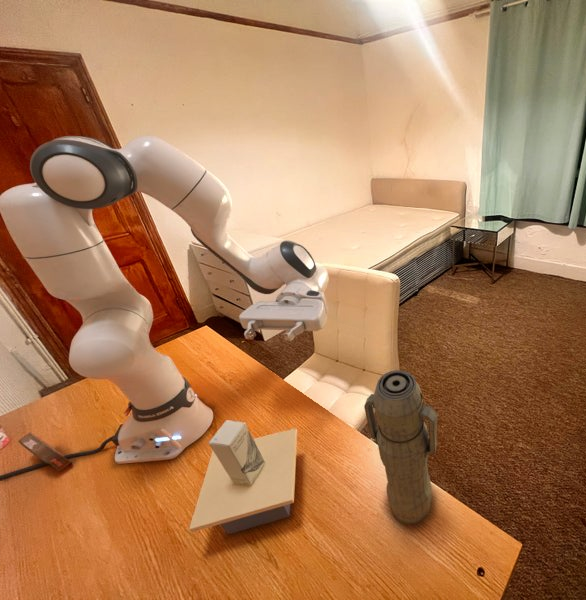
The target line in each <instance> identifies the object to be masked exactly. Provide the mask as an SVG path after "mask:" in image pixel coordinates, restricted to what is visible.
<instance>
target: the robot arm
mask: <svg viewBox="0 0 586 600" xmlns="http://www.w3.org/2000/svg"><path fill="white" fill-rule="evenodd" d="M29 161H30V162H29V171H30V174H31V177H32V179H33V181H34V182H32V183H25V184H19V185H16V186H13V187H11V188H9V189H7V190H5V191H4V192H2V193H1V194H0V215H1V218H2V221H3V222H4V224H5V227H6V229H7V231H8V234H9V235H10V237H11V239H12V240H13V243H14V244H15V245H16V247H17V249H18V250H19V252H20V254H21V255H22V257H23V258H24V260H25V261H26V263H27V264H28V265H29V266H30V268H31V270H32V271H33V272H34V274H35V275H36V277H37V278H38V280H39V281H40V283H41V284H42V285H43V287H44V288H45V290H46V291H47V292H48V294H50V295H51V297H54V298H56V299H60V300H64V301H65V302H67V303H68V304H69V305H71V306H72V307H73V308H74V309H75V310H76V311H78V312H79V314H80V315H81V318H82V319H81V320H82V325H81V326H80V328H79V329H78V330H77V332H76V333H75V334H74V336H73V338H72V340H71V341H70V342H71V343H70V347H69V354H68V355H69V356H68V363H69V365H70V368H71V369H72V370H73V371H74V372H75V373H77V374H78V375H79V376H81V377H84V378H88V379H92V380H107V381H109V382H111V384H114V385H115V386H116V387H117V388H118V389H119V391H120V392H122V394H124V396H125V397H126V398H127V400H128V404H127V407H126V409H125V411H124V414H125V416H126V419H125V420H124V422H123V423H120V424H119V426H118V428H117V430H116V431H115V433H114V435H112V436H110V437H109V438H107V439H106V440H104V441H102V443H101V444H100V446H99V447H98V448H94V449H92V450H88V451H82V452H74V453H69V454H66V455H63V456H64V457H65V458H66V459H70V458H75V457H76V458H77V457H84V456H90V455H93V454H96V453H99V452H101V451H102V450H104V449H105V447H106V445H108V443H111V442H112V443H113V444H114V445H115V446H116V450H115V452H114V453H115V454H114V461H115V463H116V464H117V465H120V464H134V463H144V462H156V461H157V462H158V461H168V460H174V459H175V458H176V457H178V456H179V455H180V454H181V453H182V452H183V451H184V450H185V449H186V448H187V447H189V446H190V445H192V444H193V443H195V442H196V441H197V440H199V439H200V438H201V437H202V436H203V435H204V434H205V433H206V432H207V431H208V430H209V428H210V427H211V425H212V422H213V420H214V411H213V410H212V408H210V407H209V406H208V405H206V403H204V402H203V401H201V400H200V398H198V395H197V393H195V391H194V389H193V387H192V385H191V384H190V382H189V381H188V380H187V379H186V377H185V376H183V375H182V373H181V372H180V370H179V369H178V367H177V366H176V364H175V363H174V361H173V359H172V358H171V357H170V355H167V354H164V353H160V352H159V351H158V350H156V348H155V347H154V346H153V345H152V343H151V340H150V331H151V328H152V325H153V322H154V312H153V307H152V304H151V302H150V301H149V299H148V298H146V296H144V295H142V294H140V292H138V291H137V290H136V288H135V287H134V286H133V285H132V284H131V282H130V281H129V280H128V279H127V278H126V276H125V275H124V274H123V272H122V270H121V269H120V267H119V265H118V264H117V261H116V260H115V258H114V256H113V254H112V252H111V250H110V248H109V247H108V245H107V243H106V241H105V239H104V237H103V236H102V234H101V232H100V230H99V229H98V227H97V225H96V222H95V221H94V217H93V210H100V209H103V208H107V207H109V206H112V205H115V204H116V203H118V202H119V201H121V200H123V199H125V198H127V197H129V196H131V195H134V194H135V193H136V192H137V193H142V194H144V195H147V196H149V197H151V198H153V199H154V200H156V201H158V202H159V203H160V204H162V205H163V206H164V207H166V208H167V209H169V210H171V211H172V212H173V213H175V214H176V215H177V216H178V217H181V219H182V220H183V221H184V222H185V223H186V224H187V225H188V226H189V228H190V232H191V234H192V235H193V237H194V238H195V239H196V240H197V241H198V242H199V243H200V244H201V246H203V247H204V248H205V249H206V250H207V251H209V252H210V253H211V254H212V255H214V256H215V257H216V258H217V259H219V260H220V261H221V262H222V263H224V264H225V266H227V267H228V268H230V269H231V270H233V271H234V273H236V274H238V276H240V278H242V279H243V281H245V283H246V284H247V285H248V286H249V287H250V288H251V289H252V290H254V291H255V292H257V293H259V294H262V295H271V294H274V293H275V292H277V291H279V289H280V288H282V287H283V286H285V287H284V288H283V289H282V290H281V291H280V293H278V294H277V295H276V298H275V301H268V300H267V301H266V300H265V301H264V300H263V301H257V302H254V303H252V304H251V305H250V306H248V307H247V308H246V309H244V311H241V313H240V314H239V315H238V319H239V322H240V325H241V327H242V329H244V330H245V331H244V333H243V335H244V338H245V339H246V340H254V338H255V337H256V336H257V333H256V331H258V330H262V331H263V330H266V331H285V332H284V333H283V337H284V340H285V341H289V342H292V341H294V339H295V338H296V337H297V336H299V335H302V334H303V333H304V332H318V331H321V330H322V329H323V328H324V326H325V325H326V322H327V320H328V316H329V314H330V313H329V305H328V301H327V298H326V295H325V292H326V290H327V287H328V285H329V282H330V281H329V280H330V278H329V277H330V276H329V272H328V270H327V268H326V267H325V266H324V265H322V264H321V263H318V262H316V261H315V259H314V258H313V256H312V255H311V253H310V252H309V251H308V249H307V248H306V247H304V246H303V245H302V244H300V243H299V242H296V241H293V240H288V239H287V240H283V241H281V242H280V243H278V244H277V245H275V246H274V247H272V248H271V249H269V250H268V251H266V252H265V253H263V254H262V255H259V256H253V255H251V254H250V253H249V252H247V251H246V250H245V248H243V247H242V246H241V245H240V244H239V243H238V242H237V241H235V240H234V239H233V238H232V237H231V236H230V235H229V233H228V230H227V225H228V222H229V220H230V217H231V215H232V209H233V202H232V197H231V193H230V191H229V189H228V188H227V186H226V185H225V184H224V183H223V182H222V181H221V180H220V179H219V178H218V177H216V176H215V175H214V174H212V173H211V172H210V171H209V170H207V169H206V168H205V167H204V166H203V165H201V164H200V163H199V162H197V161H196V160H194V159H193V158H191V157H190V156H189V155H188V154H186V153H185V152H183V151H182V150H180V149H178V148H177V147H175V146H174V145H172V143H171V144H170V143H169V142H167V141H165V140H164V139H162V138H161V137H158V136H155V135H149V134H148V135H145V134H144V135H141V136H137V137H135V138H133V139H132V140H130V141H129V142H128V143H126V145H125V146H123V147H121V148H114V147H113V146H112V145H109V144H108V143H106V142H104V141H102V140H99V139H97V138H93V137H89V136H81V135H79V136H78V135H66V136H60V137H57V138H54V139H52V140H50V141H47V142H45V143H42V144H41V145H40V146H38V147H37V148H36V149H35V150H34V151H33V153H32V155H31V157H30V160H29ZM47 465H49V464H48V463H46V462H44V461H43V462H42V461H41V462H39V463H36V464H33V465H30V466H26V467H23V468H20V469H17V470H14V471H10V472H7V473H3V474H1V475H0V480H3V479H6V478H10V477H12V476H15V475H18V474H22V473H26V472H29V471H31V470H35V469H38V468H41V467H43V466H47Z"/></svg>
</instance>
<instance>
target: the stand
mask: <svg viewBox="0 0 586 600" xmlns="http://www.w3.org/2000/svg"><path fill="white" fill-rule="evenodd" d="M253 439H254V441H255V443H256V445H257V447H258V449H259V451H260V453H261V455H262V457H263V459H264V461H265V463H264V465H263V467H262V469H261V470H260V472H259V474H258V475H257V477H256V479H255V480H254V482H253V483H252V485H244V484H239V483H233V482H232V480H231V478H230V477H229V475H228V474H227V472H226V470H225V469H224V467H223V466H222V464H221V462H220V461H219V459H218V458H217V456H216V454H215V453H214V451H213V450H212V452H211V455H210V458H209V462H208V465H207V468H206V472H205V474H204V478H203V481H202V485H201V488H200V492H199V494H198V498H197V501H196V505H195V508H194V511H193V515H192V518H191V521H190V525H189V528H188V531H190V532H191V533H194V532H198V531H201V530H203V529H204V530H205V529H207V528H211V527H215V526H219V525H220V526H221V528H223V530H224V531H225V533H226V534H227V535H231V534H235V533H238V532H242V531H246V530H248V529H251V528H255V527H258V526H262V525H265V524H268V523H272V522H275V521H279V520H282V519H285V518H289V517H290V516H291V504H294V503H295V490H296V489H295V487H296V467H297V451H298V450H297V447H298V429H297V427H295V428H291V429H287V430H282V431H279V432H275V433H271V434H267V435H263V436H259V437H255V438H253Z"/></svg>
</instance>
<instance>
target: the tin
mask: <svg viewBox="0 0 586 600" xmlns="http://www.w3.org/2000/svg"><path fill="white" fill-rule="evenodd" d="M18 443H19V444H20V445H21V446H22V447H24V448H25V449H26V450H27V451H29V452H30V453H31V454H32V455H34V456H35V457H37V458H38V459H39V460H41V461H43V462H46V463H48V464H47V465H51V467H52V468H54V469H55V470H56V471H57V472H61V471H62V470H63V469H65V468H66V467H67V466H68V465H70V464H71V463H72V462H73V461H71V460H70V458H67V459H66V458H65V457H64V456H65V455H64V454H62V453H61V452H59V451H58V450H57V449H55V448H54V447H53V446H51V445H50V444H48V443H47V442H45V441H44V440H42V439H41V438H39V437H38V436H37V435H35V434H34V433H32V432H31V431H29V432H28V433H27V434H25V435H24V436H23V437H21V438H20V439H19V440H18Z"/></svg>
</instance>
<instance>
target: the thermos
mask: <svg viewBox="0 0 586 600" xmlns="http://www.w3.org/2000/svg"><path fill="white" fill-rule="evenodd" d="M363 406H364V412H365V416H366V421H367V426H368V432H369V435H370V437H371V440H375V441H376V445H377V448H378V453H379V457H380V460H381V463H382V465H383V467H384V469H385V475H386V481H387V484H386V495H387V501H388V504H389V506H390V507H389V508H390V511H391V513H392V515H393V516H394V517H395V518H396V520H397V521H399V522H401V523H402V524H404V525H405V524H406V525H416V524H418V523H420V522H422V521H424V520H425V518H426V517H427V516H428V515H429V513H430V510H431V509H432V508H431V507H432V495H433V494H432V493H433V492H432V483H431V477H430V475H429V470H428V459H429V456H430V455H434V454H436V451H437V446H438V442H437V440H438V439H437V431H438V429H437V428H438V425H437V424H438V413H437V412H436V411H435V409H434V408H433V407H432V406H431V405H427V404H425V402H424V401H423V392H422V389H421V387H420V385H419V384H418V382H417V380H416V378H415V377H414V376H413V374H411V373H410V372H408V371H406V370H402V369H401V370H399V369H396V370H391V371H388V372H385V373H384V374H382V375H381V376H380V377H379V379H378V380H377V383H376V385H375V389H374V393H371V394H369V396H368V397H367V398H366V401H365V403H364V405H363ZM374 410H375V411H374ZM375 416H376V417H375ZM424 419H425V420H427V421H428V426H427V424H426V422H425V420H424ZM376 421H377V422H376ZM377 424H378V426H377ZM377 427H378V428H377Z"/></svg>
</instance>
